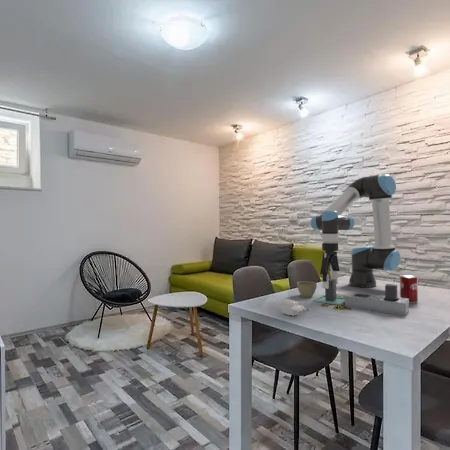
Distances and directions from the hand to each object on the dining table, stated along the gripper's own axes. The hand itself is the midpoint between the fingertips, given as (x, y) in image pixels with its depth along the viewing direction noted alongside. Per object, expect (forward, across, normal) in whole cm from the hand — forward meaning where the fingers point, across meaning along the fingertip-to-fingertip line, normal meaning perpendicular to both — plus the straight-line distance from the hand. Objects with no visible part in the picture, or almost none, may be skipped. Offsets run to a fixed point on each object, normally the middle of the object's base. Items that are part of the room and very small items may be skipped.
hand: (330, 286), depth 155 cm
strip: (+7, -2, +21) cm, 22 cm away
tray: (+7, 0, 0) cm, 7 cm away
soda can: (+7, -19, +31) cm, 37 cm away
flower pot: (+8, -2, -13) cm, 15 cm away
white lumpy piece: (+8, +32, -4) cm, 33 cm away
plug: (+7, 0, 0) cm, 7 cm away
